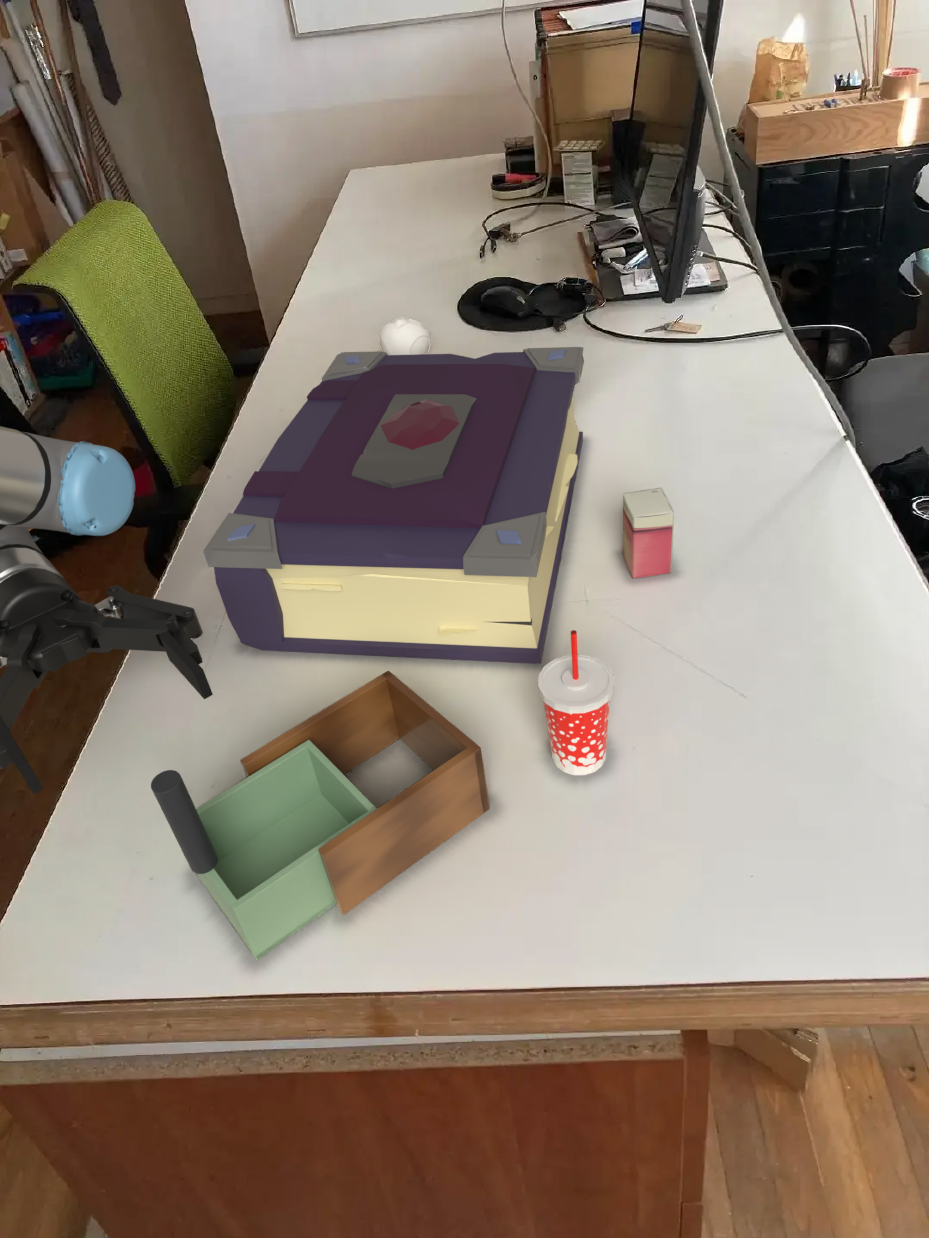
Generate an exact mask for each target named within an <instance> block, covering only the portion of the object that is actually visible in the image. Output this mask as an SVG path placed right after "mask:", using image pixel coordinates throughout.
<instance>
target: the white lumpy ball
mask: <svg viewBox="0 0 929 1238" xmlns="http://www.w3.org/2000/svg"><path fill="white" fill-rule="evenodd" d="M378 335H379V343H380V348H381V350H382V352H386V353H387V354H388V355H419V354H429V352H430V348H431V341H432V340H431V331H430V330H428V329H427V328H426V326H425V325H424V324H423V323H422V322H420V321H418V320H416V319H412V318H411V317H410V316H408V315H401V316H398V317H396V318H394V319H392V320H391V321H389V323H386V324H384V325H383V326H382V328H380V331H379V334H378Z"/></svg>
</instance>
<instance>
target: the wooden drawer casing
mask: <svg viewBox="0 0 929 1238" xmlns="http://www.w3.org/2000/svg"><path fill="white" fill-rule="evenodd" d="M307 740H310V741H311V742H312V743H313V744H314V745H315V746H316V747H317V748H318V749H319V750H320V751H321V752H322V753H323V754H324V755H325V756H326V757H327V758H328V759H329V760H330V761H331V762H332V763H333V764H334V765H335V766H336V767H337V768H338V769H339V770H340V772H341V773H342V774H343V775H344V776H345V775H346V774H347V773H349V772H351V771H353V770H354V769H356V768H357V767H358V766H360V765H361V764H363V763H365V762H367V760H369V759H372V757H374V756H375V755H377V754H379V753H380V752H381V751H383V750H384V749H386V748H388V747H390V746H391V745H392V744H394V743H396V742H397V741H399V740H400V741H401V742H403V743H404V744H405V746H407V747H408V748H409V749H410V750H411V751H412V752H413V753H415V755H417V756H418V757H419V758H420V759H421V760H422V761H423V762H424V763H426V764H427V765H428V766H429V768H431V769H432V770H433V771H431V772H430V773H428V774H427V775H425V776H423V777H422V778H420V779H419V780H417V781H416V782H414V783H413V784H412V785H410V786H408V788H406V789H404V790H403V791H401V792H399V793H398V794H397V795H395V796H394V797H392V798H391V799H390V800H388V801H387V802H385V803H384V804H382V805H381V806H379V807H378V808H377V809H376V810H375V811H373V812H372V813H371V814H369V815H368V816H366V817H365V818H363V819H362V820H360V821H359V822H357V823H356V824H354V825H353V826H351V827H350V828H348V829H347V830H346V831H344V832H343V833H341V834H340V835H338V836H337V837H335V838H334V839H332V840H331V841H329V842H328V843H326V844H325V845H323V846H322V847H321V848H319V849H318V851H319V854H320V857H321V860H322V863H323V866H324V869H325V872H326V874H327V877H328V880H329V883H330V886H331V889H332V892H333V895H334V898H335V901H336V904H335V905H336V907H337V909H338V911H339V912H340V913H341V914H342V915H343V916H344V915H346V914H348V913H349V912H350V911H351V910H353V909H354V908H356V907H357V906H358V905H360V904H361V903H363V902H364V901H366V899H368V898H370V896H372V895H374V894H375V893H377V891H378V892H379V890H380V889H382V888H383V887H385V886H387V884H389V883H390V882H391V881H394V879H395V878H397V877H398V876H399V875H401V874H403V873H404V872H405V871H407V870H408V869H409V868H411V867H412V866H413V865H415V864H416V863H417V862H419V861H420V860H422V859H423V858H425V857H426V856H428V855H429V854H431V853H432V852H433V851H435V850H436V849H437V848H439V846H441V845H442V844H444V843H445V842H446V841H448V840H449V839H451V838H452V837H454V836H455V835H456V834H457V833H459V832H460V831H462V830H464V828H466V827H468V826H469V825H470V824H472V823H473V822H475V820H477V819H478V818H480V817H481V816H482V815H484V814H485V813H486V812H488V811H489V810H490V801H489V794H488V786H487V781H486V780H487V778H486V773H485V765H484V759H483V758H484V757H483V751H482V747H481V746H480V745H479V744H477V743H476V742H475V741H474V740H473V739H472V738H470V737H469V736H468V735H467V734H465V733H464V732H463V731H462V730H461V729H459V727H457V726H456V725H454V723H452V722H451V721H450V720H449V719H447V718H446V717H445V716H444V715H442V713H441V712H440V711H438V710H436V709H435V708H434V707H433V706H432V705H430V703H428V701H426V700H424V699H423V698H422V697H421V696H420V695H419V694H417V692H415V691H414V690H413V689H411V687H409V686H408V685H406V684H405V683H404V682H403V681H402V680H401V679H400V678H398V677H397V676H396V675H395V674H393V672H391V671H390V670H387V671H384V672H383V673H382V674H380V675H378V676H376V677H374V678H373V679H371V680H370V681H368V682H366V683H365V684H363V685H362V686H360V687H358V688H356V689H355V690H353V691H352V692H350V693H348V694H346V695H345V696H344V697H341V698H340V699H339V700H337V701H334V702H333V703H332V704H330V705H328V706H327V707H324V708H323V709H322V710H320V711H318V712H317V713H315V714H313V715H312V716H310V717H309V718H307V719H305V720H303V721H302V722H300V723H298V724H297V725H295V726H293V727H292V728H290V729H289V730H287V731H285V732H284V733H282V734H281V735H279V736H277V737H275V738H274V739H272V740H270V741H268V742H267V743H266V744H264V745H262V746H261V747H259V748H258V749H256V750H254V751H251V752H250V753H249V754H247V755H246V756H244V757H243V758H240V764H241V766H242V769H243V771H244V774H245V776H246V777H245V778H247V777H249V776H250V775H252V774H254V773H255V772H257V771H258V770H260V769H262V768H263V767H265V766H267V765H268V764H270V763H271V762H273V761H275V760H276V759H278V758H280V757H281V756H283V755H284V754H286V753H288V752H289V751H291V750H293V749H294V748H296V747H297V746H299V745H301V744H302V743H304V742H306V741H307Z"/></svg>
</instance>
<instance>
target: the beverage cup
mask: <svg viewBox="0 0 929 1238" xmlns="http://www.w3.org/2000/svg"><path fill="white" fill-rule="evenodd" d="M570 647H571V649H570V650H571V654H567V655H563V656H560V657H556V658H554V659H552V660H551V661H550V662H548V663H547V664H545V665H544V666H543V667H542V669H541V670H540V672H539V674H538V675H537V676H538V677H537V689H538V694H539V695H540V697H541V699H542V701H543V707H544V713H545V721H546V727H547V731H548V739H549V744H550V751H551V757H552V761H553V763H554V764H555V766H556V768H558V769H559V770H560V771H562V772H563V773H565V774H568V775H572V776H587V775H590V774H593V773H595V772H596V771H598V770H599V769H600V768H602V767H603V766H604V762H605V761H606V758H607V744H608V731H609V718H610V706H611V705H610V703H611V697H612V695H613V693H614V692H615V689H614V688H615V678H614V673H613V671H612V670H611V668H610V667H609V665H608V664H607V663H606V662H604V661H602V660H600V659H599V658H597V657H594V656H591V655H586V654H578V632H577V630H575V629H573V630H572V629H571V631H570Z"/></svg>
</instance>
